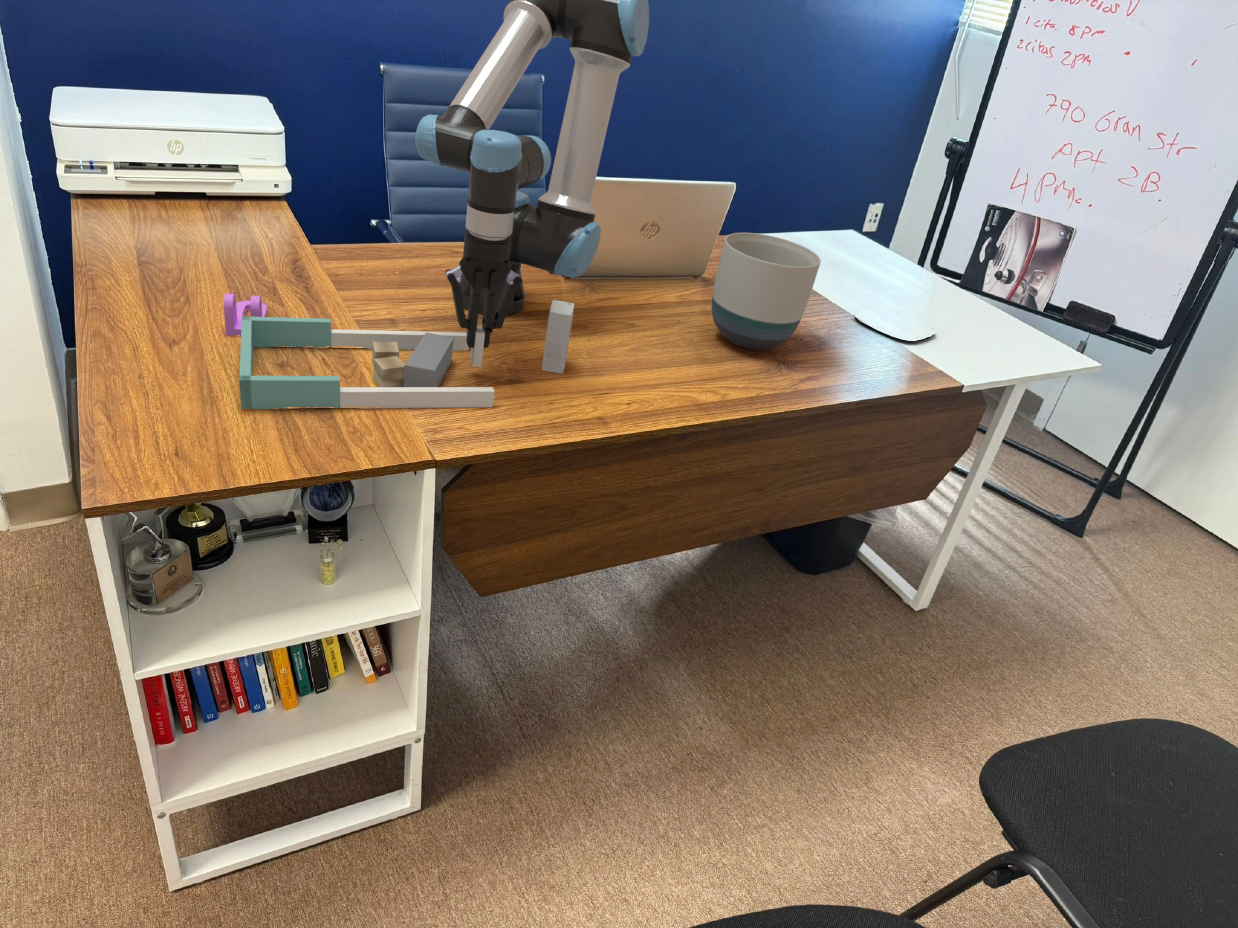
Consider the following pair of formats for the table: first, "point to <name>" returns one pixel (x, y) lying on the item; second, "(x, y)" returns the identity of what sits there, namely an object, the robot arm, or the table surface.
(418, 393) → the channel
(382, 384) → the chip
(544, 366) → the skincare box
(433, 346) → the block
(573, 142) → the robot arm
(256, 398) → the bay
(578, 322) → the table surface
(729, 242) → the planter
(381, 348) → the chip
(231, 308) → the bracket
